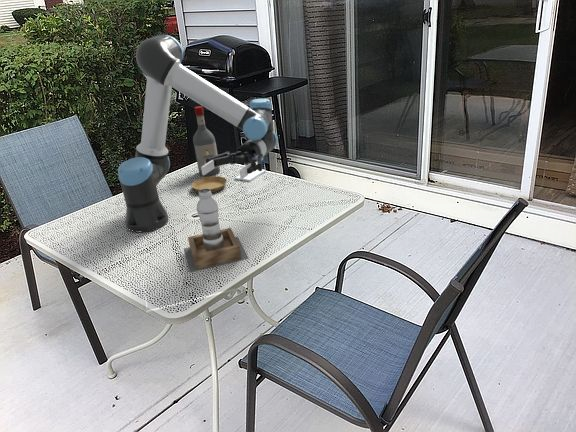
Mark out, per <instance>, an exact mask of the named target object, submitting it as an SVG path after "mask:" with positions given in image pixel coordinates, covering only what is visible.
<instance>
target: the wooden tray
mask: <svg viewBox="0 0 576 432" xmlns="http://www.w3.org/2000/svg"><path fill="white" fill-rule="evenodd" d="M220 230H221V234H222V236H223V239H224V247H223V248H221V249H216V250H212V251H206V250H205V248H204V246H203V233H200V234H196V235H191V236H188V237H187V239H188V240H187V241H188V244H189V245H188V246H189V247H190V250H191V253H192V257H193V260H194V264H195V267H196V269H200V268H204V267H208V266H212V265H217V264H221V263H225V262H229V261H234V260H238V259H242V257H241V250H240V246H239V244H238V242H237V240H236V238H235V237H236V236H235V233H234V231H233V230H232V228H231V227H227V228H224V229H220Z"/></svg>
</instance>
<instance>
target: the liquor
mask: <svg viewBox="0 0 576 432" xmlns="http://www.w3.org/2000/svg"><path fill="white" fill-rule="evenodd" d="M204 113H205V112H204V106H202V105H199V106H195V107H194V115H195V116H196V122H197V130H196V132H195V133H194V134H193V137H192V142H193V146H194V153H195V157H196V158H195V159H196V164H197V169H198V173H199V175H200V176H201V177H211V176H217V175H218V174H220V172H221V168H220V167H221V166H216V167H214V169H213V170H211V171H210V172H208V173H207V174H205V175H202V170H201V167H202V166H203V165H205V164H206V158H209V157H213V156H216V155H219V154H218V148H217V143H216V137H215V136H214V134H213V133H212V132H211V131H210V130H209V129H208V128H207V127H206V121H205V115H204Z"/></svg>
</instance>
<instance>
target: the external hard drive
mask: <svg viewBox="0 0 576 432" xmlns="http://www.w3.org/2000/svg"><path fill="white" fill-rule="evenodd" d="M265 173H266V169H263V168H262V171H258V170H256V171H253V172H252V173H250V174H248V175H247V176H246V177H245V178H243V179H240V174H239V175H237V176H235V177H234V180H235V181H240V182H241V181H242V182H248V183H250V182H252V181H254V180H256V179H257V178H258V177H260V176H262V175H263V174H265Z"/></svg>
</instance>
